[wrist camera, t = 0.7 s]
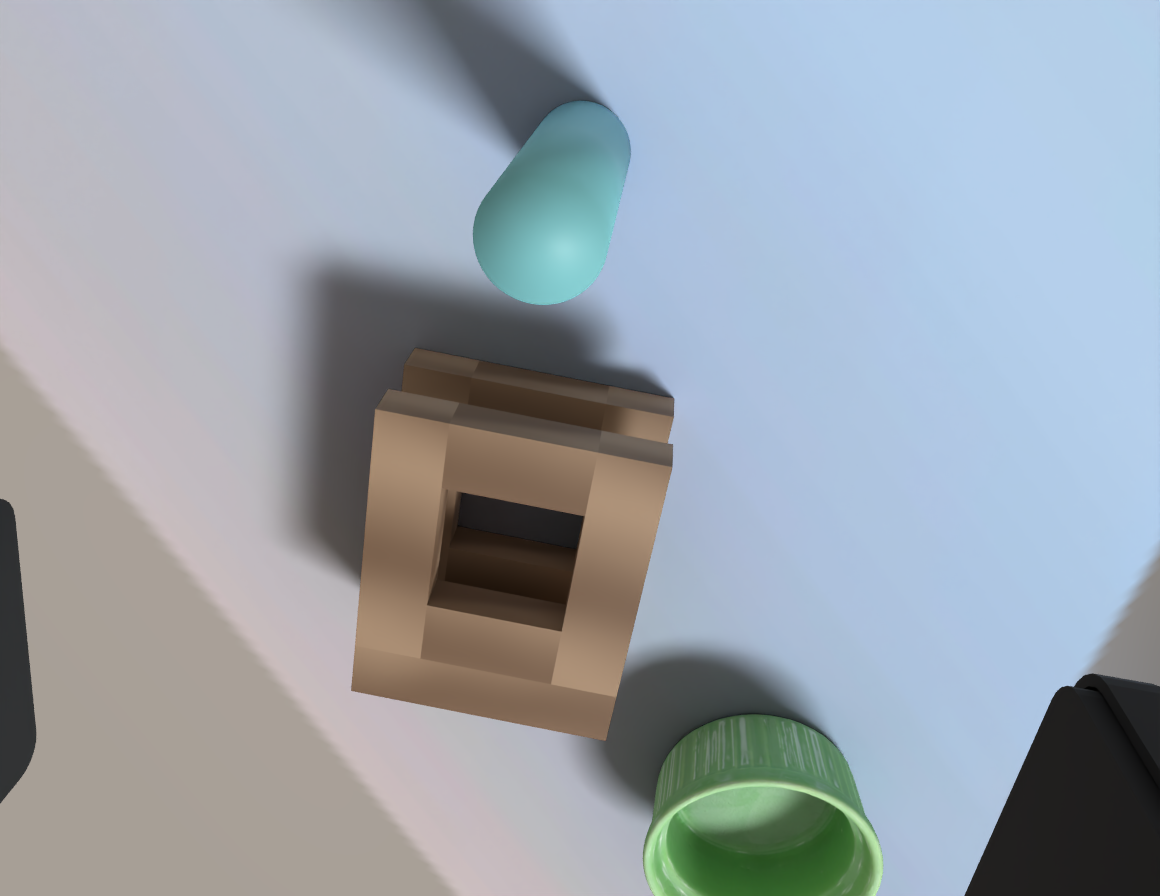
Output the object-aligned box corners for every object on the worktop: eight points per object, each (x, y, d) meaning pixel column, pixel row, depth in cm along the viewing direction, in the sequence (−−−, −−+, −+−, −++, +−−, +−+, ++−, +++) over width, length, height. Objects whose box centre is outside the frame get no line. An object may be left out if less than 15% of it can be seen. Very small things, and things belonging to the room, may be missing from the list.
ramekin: (807, 884, 45) (819, 975, 41) (615, 821, 44) (609, 908, 40) (904, 742, 41) (928, 829, 37) (695, 670, 40) (695, 750, 36)
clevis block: (415, 347, 35) (375, 408, 30) (674, 398, 35) (672, 467, 30) (388, 605, 40) (351, 690, 35) (614, 650, 40) (605, 740, 35)
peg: (541, 91, 31) (481, 158, 22) (639, 110, 31) (619, 184, 22) (526, 190, 32) (465, 290, 23) (620, 208, 32) (595, 316, 23)
